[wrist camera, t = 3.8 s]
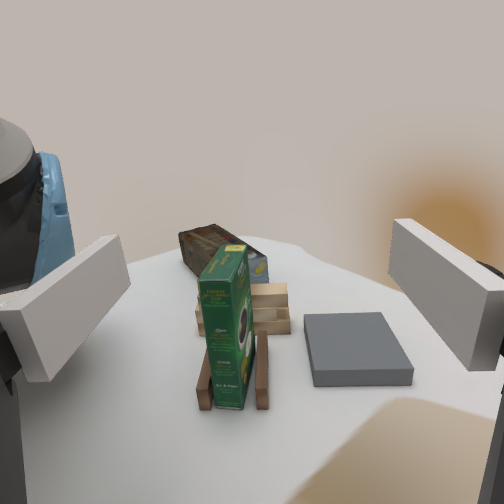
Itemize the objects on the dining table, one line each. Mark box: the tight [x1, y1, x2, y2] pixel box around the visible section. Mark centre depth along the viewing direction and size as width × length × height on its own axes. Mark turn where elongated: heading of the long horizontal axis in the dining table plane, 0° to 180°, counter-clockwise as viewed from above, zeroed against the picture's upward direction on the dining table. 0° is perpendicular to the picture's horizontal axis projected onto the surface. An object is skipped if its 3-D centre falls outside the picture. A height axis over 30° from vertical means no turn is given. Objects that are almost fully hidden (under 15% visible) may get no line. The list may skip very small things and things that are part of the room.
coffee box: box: [197, 244, 256, 410], centre depth 29 cm, size 8×3×13 cm, turn 171°
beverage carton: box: [178, 224, 269, 284], centre depth 52 cm, size 8×19×7 cm, turn 30°
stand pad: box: [304, 312, 414, 386], centre depth 33 cm, size 9×9×2 cm
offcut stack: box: [195, 283, 290, 336], centre depth 38 cm, size 11×3×5 cm, turn 88°
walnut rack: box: [196, 330, 268, 410], centre depth 31 cm, size 6×8×2 cm
